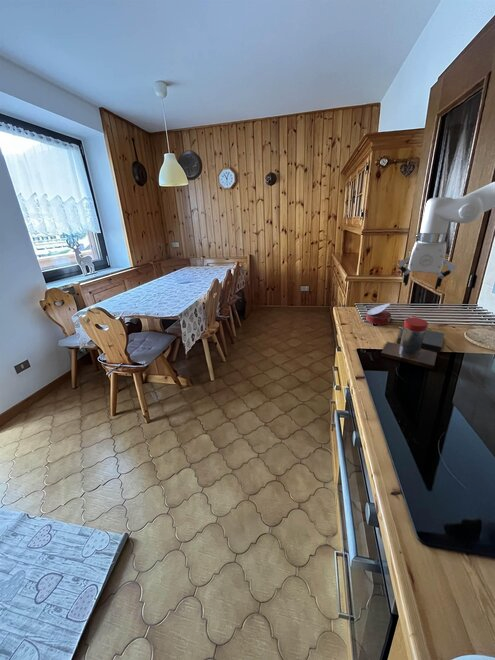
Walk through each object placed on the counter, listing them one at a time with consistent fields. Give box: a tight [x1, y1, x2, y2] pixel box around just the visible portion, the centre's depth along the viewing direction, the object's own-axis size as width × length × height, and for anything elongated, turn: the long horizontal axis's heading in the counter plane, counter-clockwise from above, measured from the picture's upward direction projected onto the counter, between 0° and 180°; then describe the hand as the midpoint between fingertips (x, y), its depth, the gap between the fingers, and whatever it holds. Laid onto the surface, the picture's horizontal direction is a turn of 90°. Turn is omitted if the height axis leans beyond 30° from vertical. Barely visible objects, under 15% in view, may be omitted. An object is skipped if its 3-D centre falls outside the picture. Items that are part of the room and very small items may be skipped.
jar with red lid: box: [399, 317, 429, 358], centre depth 96 cm, size 7×7×12 cm
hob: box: [396, 325, 445, 354], centre depth 108 cm, size 15×13×3 cm
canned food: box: [365, 302, 392, 325], centre depth 124 cm, size 11×10×10 cm
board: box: [380, 341, 438, 370], centre depth 99 cm, size 16×9×2 cm, turn 54°
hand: (420, 286), depth 103 cm, fingers open, 9 cm apart
